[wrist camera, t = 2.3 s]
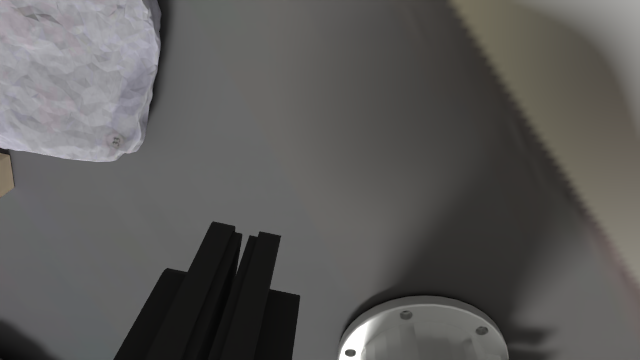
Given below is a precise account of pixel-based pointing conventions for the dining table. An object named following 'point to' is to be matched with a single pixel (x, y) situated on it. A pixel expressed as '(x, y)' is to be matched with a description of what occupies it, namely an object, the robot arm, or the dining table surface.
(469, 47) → the dining table surface
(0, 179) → the blocks
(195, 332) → the robot arm
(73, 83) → the stone block
